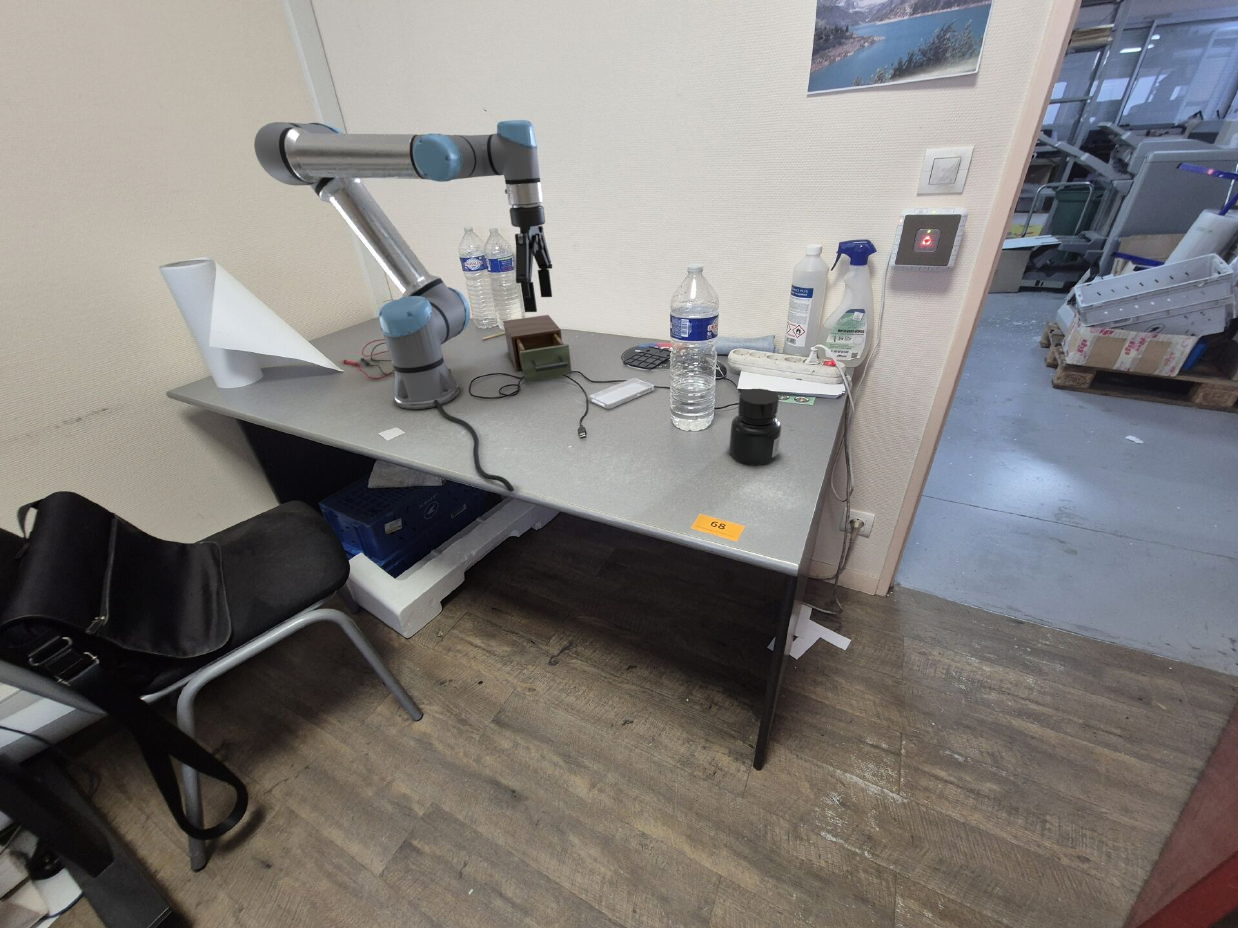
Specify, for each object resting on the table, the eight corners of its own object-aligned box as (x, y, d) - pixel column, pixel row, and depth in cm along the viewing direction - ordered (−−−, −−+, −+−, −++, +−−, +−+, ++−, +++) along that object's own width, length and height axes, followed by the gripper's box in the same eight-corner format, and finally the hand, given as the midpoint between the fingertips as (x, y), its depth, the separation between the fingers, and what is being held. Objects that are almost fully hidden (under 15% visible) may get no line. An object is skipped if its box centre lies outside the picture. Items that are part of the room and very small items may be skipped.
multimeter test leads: (412, 330, 162) (442, 347, 145) (416, 343, 165) (446, 362, 148) (335, 347, 150) (358, 369, 133) (340, 362, 153) (363, 385, 136)
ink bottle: (786, 463, 92) (795, 404, 86) (741, 470, 91) (747, 411, 85) (763, 438, 100) (769, 382, 94) (721, 445, 99) (725, 388, 93)
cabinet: (564, 363, 142) (560, 329, 137) (516, 370, 139) (511, 336, 134) (552, 345, 156) (548, 314, 151) (508, 352, 153) (503, 321, 147)
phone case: (634, 382, 128) (588, 400, 120) (634, 377, 127) (588, 395, 119) (654, 390, 123) (608, 410, 115) (654, 385, 122) (608, 404, 114)
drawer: (577, 382, 127) (574, 353, 123) (529, 391, 124) (524, 361, 120) (558, 355, 145) (555, 329, 141) (516, 362, 142) (511, 335, 138)
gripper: (526, 201, 121) (538, 291, 132) (489, 212, 100) (507, 319, 111) (556, 199, 120) (566, 291, 131) (525, 211, 99) (539, 318, 110)
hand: (539, 304), depth 121 cm, fingers open, 13 cm apart
